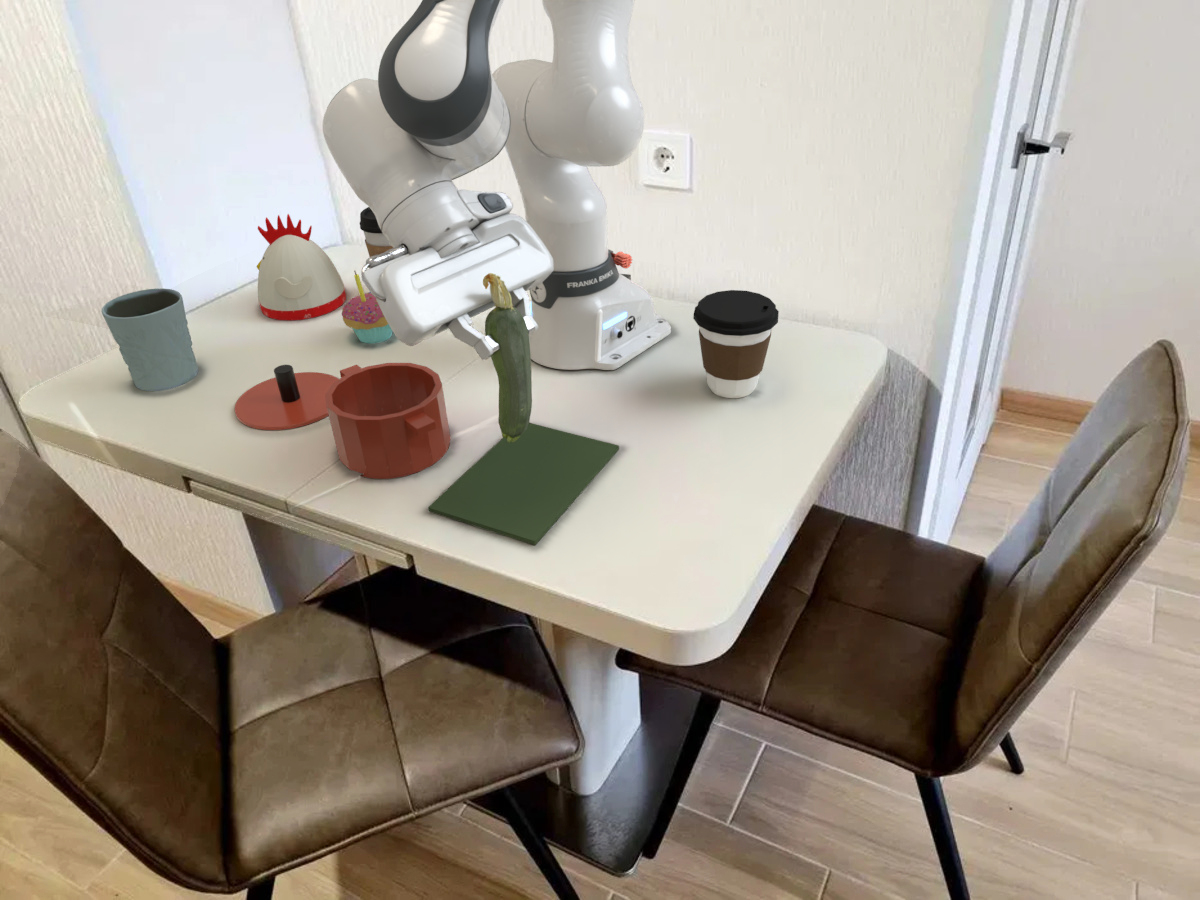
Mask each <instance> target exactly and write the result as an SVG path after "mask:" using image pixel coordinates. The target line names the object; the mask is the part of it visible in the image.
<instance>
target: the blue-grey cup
mask: <svg viewBox="0 0 1200 900" xmlns="http://www.w3.org/2000/svg"><path fill="white" fill-rule="evenodd" d="M100 312H101V315H102V317H103V319H104V320H105V323H106V325H107V326H108V329H109V331H110V333H111V335H112V337H113V339H114V341H115V343H116V344H117V346H118V350H119V353H120V355H121V357H122V360H123V362H124V364H125V365H126V366H127V367H128V368H127V369H128V372H129V374H130V376H131V379H132V382H133V385H134V386H135V388H137V389H139V390H141V391H144V392H145V391H146V392H161V391H167V390H172V389H175V388H178V387H180V386H182V385H185V384H187V383H189V382H190V381H192V380H194V378H195V377H196V376H197V375H198V374H199V366H198V364H197V359H196V356H195V353H194V350H193V341H192V336H191V334H190V329H189V327H188V324H189V323H188V320H187V319H188V318H187V315H186V309H185V303H184V299H183V295H182V294H181V292H179V291H177V290H175V289H171V288H147V289H141V290H136V291H132V292H127V293H124V294H122V295H119V296H117V297H115V298H112V299H111V300H109V301H107V302H106V303H105V304H104V305H103V306H102V308H101V310H100Z"/></svg>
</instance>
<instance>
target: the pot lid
mask: <svg viewBox="0 0 1200 900" xmlns="http://www.w3.org/2000/svg"><path fill="white" fill-rule="evenodd" d="M273 374H274V377H271V378H269V379H266V380H264V381H262V382H260V383H258V384H256V385H255V384H254V386H252V387H250V388H249V389H247V390H245V392H244V393H242V395H241V396H240V397H238V399H237V400H236V402H235V405H234V415H235V416H236V417H235V418H236V419H237V420H238V421H239V423H241V424H243V425H245V426H246V427H249V428H252V429H257V430H261V431H283V430H291V429H296V428H300V427H304V426H308V425H311V424H313V423H317V422H319V421H321V420H323V419H326V418H327V417H329V415H328V410H327V406H326V399H325V394H326V393H327V391H328V390H329V388H330V387H331V385H332V384H333V383H334V382H336V381H337V380H339V379H340V378H339V377H337V376H334V375H332V374H328V373H323V372H316V371H302V372H295V371H294V368H293V365H290V364H281V365H278V366H276V367H275V368H274V369H273Z"/></svg>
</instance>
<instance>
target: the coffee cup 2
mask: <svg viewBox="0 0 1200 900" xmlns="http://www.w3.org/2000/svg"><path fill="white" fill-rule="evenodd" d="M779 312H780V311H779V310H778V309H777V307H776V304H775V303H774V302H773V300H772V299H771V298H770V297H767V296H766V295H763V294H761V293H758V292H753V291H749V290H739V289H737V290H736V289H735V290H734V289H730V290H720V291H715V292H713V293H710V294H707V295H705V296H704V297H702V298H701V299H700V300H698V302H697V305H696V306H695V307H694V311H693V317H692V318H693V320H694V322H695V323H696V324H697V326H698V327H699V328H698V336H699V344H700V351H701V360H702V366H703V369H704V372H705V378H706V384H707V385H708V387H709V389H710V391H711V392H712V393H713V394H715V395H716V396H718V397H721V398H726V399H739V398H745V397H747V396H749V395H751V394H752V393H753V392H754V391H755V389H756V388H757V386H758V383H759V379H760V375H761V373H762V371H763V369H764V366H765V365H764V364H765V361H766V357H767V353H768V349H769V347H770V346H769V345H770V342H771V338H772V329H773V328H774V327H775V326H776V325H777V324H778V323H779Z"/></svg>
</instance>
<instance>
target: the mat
mask: <svg viewBox="0 0 1200 900" xmlns="http://www.w3.org/2000/svg"><path fill="white" fill-rule="evenodd" d="M618 451H620V445H618V444H615V443H610V442H607V441H603V440H599V439H595V438H592V437H587V436H583V435H578V434H576V433H571V432H567V431H563V430H559V429H556V428H551V427H549V426H543V425H540V424H536V423H532V422H529V425H528V427H527V429H526V430H525V431H524V432H523V433H522V434H521V435H520V436H519V438H518V439H517V440H516V441H514V442H510V443H509V442H508V441H507V438H504V437H503V436H502V438H501V439H500V440H499V441H498V442H497V443H496V444H495V445H493V447H492V448H490V449H489V450H488V451H487V452H486V453H484V455H483V456H482V457H481V458H480V459H478V460H477V461H476V462H475V463H474V464H473V465H472V466H471V467H470V468H469V469H468V470H467V471H465V472H464V473H463V474H462V475H461V476H459V478H458V479H457V480H456V481H454V482H453V483H452V485H450V486H449V487H448V488H447V489H446V490H445V491H444V492H443V493H442V494H441V495H439V496H438V497H437V499H435V500H434V501H433V502H432V503H431V504H430V505H428V507H427V511H428V512H429V513H433V514H435V515H438V516H442V517H445V518H448V519H452V520H454V521H458V522H461V523H464V524H467V525H470V526H474V527H477V528H480V529H483V530H486V531H489V532H492V533H495V534H499V535H502V536H505V537H508V538H511V539H513V540H517V541H519V542H523V543H527V544H529V545H532V546H536V545H537V544H538V543H539V542H540V541H541V540H542V539H543V538H544V536H546V534H547V533H548V532H549V530H550V529H551V528H552V527H553V526H554V525H555V524H556V522H558V520H559V519H560V518H561V516H563V514H565V512H566V511H567V510H568V508H569V507H570V506H571V505H572V504H573V503H574V502H575V501H576V499H578V497H579V496H580V495H581V494H582V493H583V491H584V490H585V489H586V488H587V487H588V486H589V484H591V482H592V481H593V480H594V479H595V478H596V477H597V475H598V474H599V473H600V472H601V471H602V469H604V467H605V466H606V465H607V464H608V463H609V461H610V460H611V459H612V458H613V457H614V456H615V455H616V453H617V452H618Z"/></svg>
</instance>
